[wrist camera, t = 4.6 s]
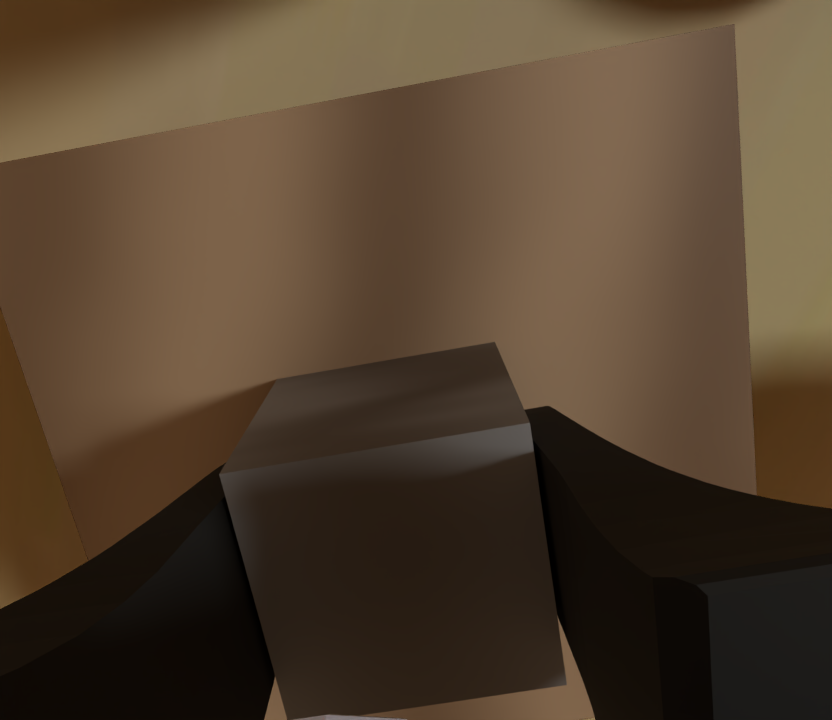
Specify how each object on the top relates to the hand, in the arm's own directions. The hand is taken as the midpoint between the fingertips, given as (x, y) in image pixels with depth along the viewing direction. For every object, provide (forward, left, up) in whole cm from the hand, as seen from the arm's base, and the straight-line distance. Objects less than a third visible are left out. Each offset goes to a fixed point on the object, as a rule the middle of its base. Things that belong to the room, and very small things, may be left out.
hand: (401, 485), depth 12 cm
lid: (0, 0, -3) cm, 3 cm away
